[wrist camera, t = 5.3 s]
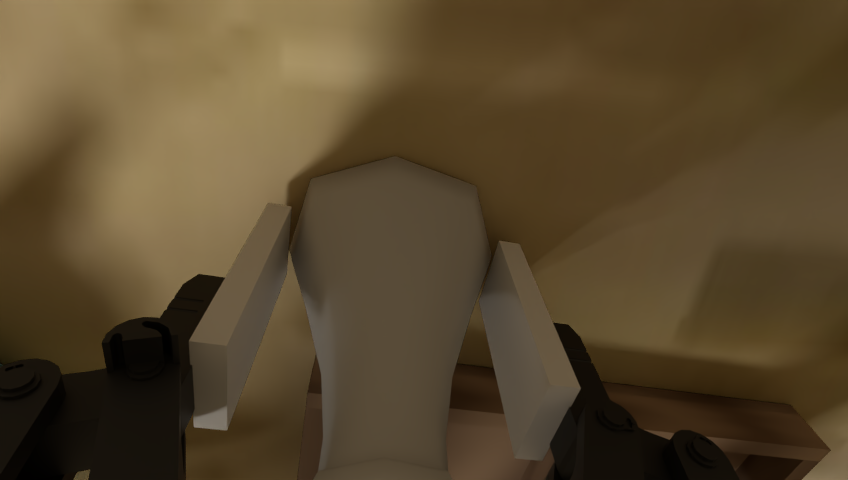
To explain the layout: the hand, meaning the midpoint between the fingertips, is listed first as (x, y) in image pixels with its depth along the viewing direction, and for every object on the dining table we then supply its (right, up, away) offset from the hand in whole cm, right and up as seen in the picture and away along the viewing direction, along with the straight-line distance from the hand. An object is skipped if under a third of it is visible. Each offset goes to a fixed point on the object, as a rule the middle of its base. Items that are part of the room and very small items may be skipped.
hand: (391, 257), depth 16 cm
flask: (0, 0, +1) cm, 1 cm away
